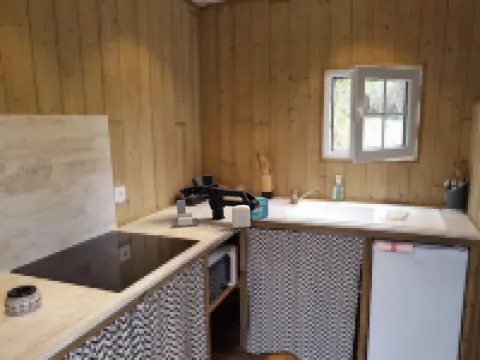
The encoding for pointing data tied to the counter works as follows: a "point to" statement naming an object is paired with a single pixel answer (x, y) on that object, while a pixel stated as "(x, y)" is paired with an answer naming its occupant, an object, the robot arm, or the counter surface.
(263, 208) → the data package
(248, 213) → the photo printer
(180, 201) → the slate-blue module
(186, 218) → the board
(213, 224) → the counter surface
